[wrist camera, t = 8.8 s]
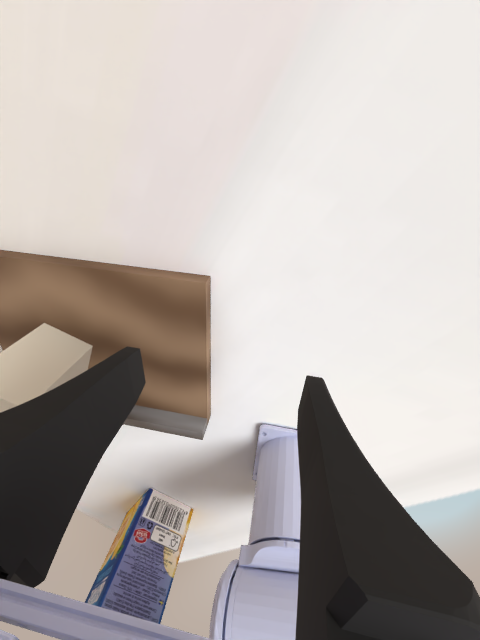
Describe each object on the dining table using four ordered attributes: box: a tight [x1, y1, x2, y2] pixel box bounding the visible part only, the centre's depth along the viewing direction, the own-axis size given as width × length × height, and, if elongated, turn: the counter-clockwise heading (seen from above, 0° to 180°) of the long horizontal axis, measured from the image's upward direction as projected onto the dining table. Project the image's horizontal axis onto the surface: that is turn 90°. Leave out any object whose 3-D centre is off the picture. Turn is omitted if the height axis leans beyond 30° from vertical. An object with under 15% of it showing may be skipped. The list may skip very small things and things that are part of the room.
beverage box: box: [85, 488, 193, 624], centre depth 32 cm, size 7×11×22 cm, turn 149°
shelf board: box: [0, 250, 211, 440], centre depth 24 cm, size 15×20×3 cm
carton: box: [0, 323, 93, 413], centre depth 22 cm, size 5×4×7 cm
